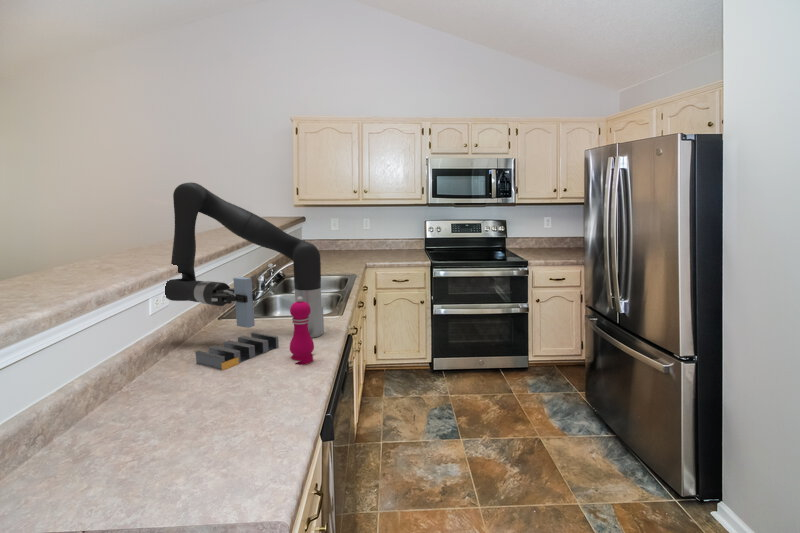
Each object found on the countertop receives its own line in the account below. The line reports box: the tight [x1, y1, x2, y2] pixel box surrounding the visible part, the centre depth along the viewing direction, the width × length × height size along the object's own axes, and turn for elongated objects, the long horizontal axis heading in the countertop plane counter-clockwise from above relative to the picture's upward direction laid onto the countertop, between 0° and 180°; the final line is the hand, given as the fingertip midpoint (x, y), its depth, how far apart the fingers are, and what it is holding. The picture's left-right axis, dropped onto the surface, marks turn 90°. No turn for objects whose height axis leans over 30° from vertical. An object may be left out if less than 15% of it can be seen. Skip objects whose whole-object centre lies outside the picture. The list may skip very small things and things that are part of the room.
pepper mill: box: [289, 297, 315, 366], centre depth 135 cm, size 7×7×20 cm
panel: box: [232, 276, 256, 329], centre depth 138 cm, size 2×5×15 cm, turn 61°
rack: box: [195, 331, 280, 371], centre depth 138 cm, size 22×11×5 cm, turn 151°
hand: (250, 298), depth 137 cm, fingers closed on panel, 2 cm apart
